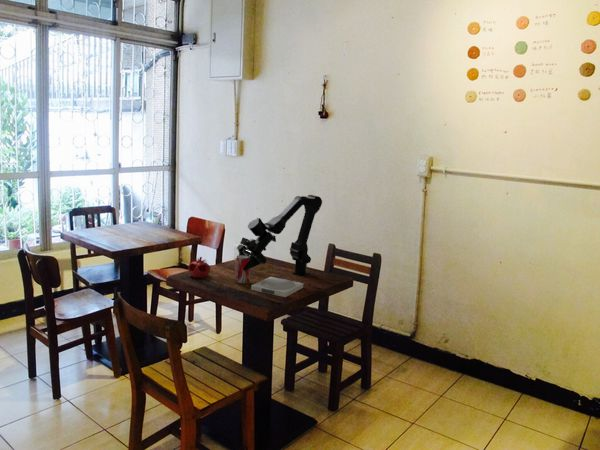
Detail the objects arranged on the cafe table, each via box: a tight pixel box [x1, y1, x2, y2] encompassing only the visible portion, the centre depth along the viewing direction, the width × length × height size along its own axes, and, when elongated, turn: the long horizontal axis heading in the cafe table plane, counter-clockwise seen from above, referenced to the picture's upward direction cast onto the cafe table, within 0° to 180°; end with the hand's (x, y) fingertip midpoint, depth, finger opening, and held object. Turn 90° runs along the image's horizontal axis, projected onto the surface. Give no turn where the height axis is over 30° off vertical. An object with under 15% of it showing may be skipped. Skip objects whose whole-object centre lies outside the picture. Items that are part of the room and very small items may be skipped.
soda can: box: [234, 254, 251, 284], centre depth 239 cm, size 7×7×12 cm
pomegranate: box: [188, 256, 211, 279], centre depth 245 cm, size 10×10×9 cm
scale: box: [250, 276, 304, 298], centre depth 233 cm, size 17×17×2 cm
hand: (239, 268), depth 238 cm, fingers closed on soda can, 7 cm apart
